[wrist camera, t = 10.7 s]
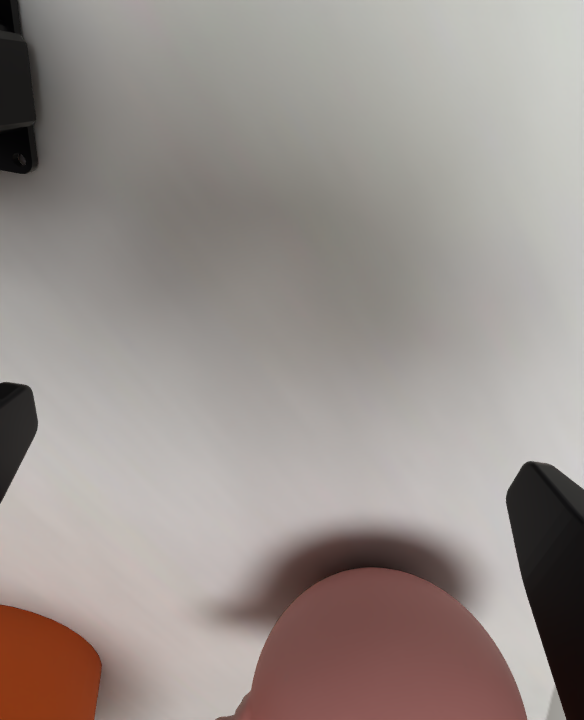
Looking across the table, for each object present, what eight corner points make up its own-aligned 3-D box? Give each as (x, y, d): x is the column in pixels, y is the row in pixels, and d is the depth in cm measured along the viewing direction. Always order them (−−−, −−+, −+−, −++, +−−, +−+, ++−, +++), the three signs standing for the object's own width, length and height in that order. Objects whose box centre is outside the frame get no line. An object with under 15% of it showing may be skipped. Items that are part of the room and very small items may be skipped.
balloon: (174, 530, 30) (67, 877, 17) (484, 506, 28) (640, 888, 15) (227, 648, 38) (182, 947, 25) (472, 638, 36) (566, 961, 22)
